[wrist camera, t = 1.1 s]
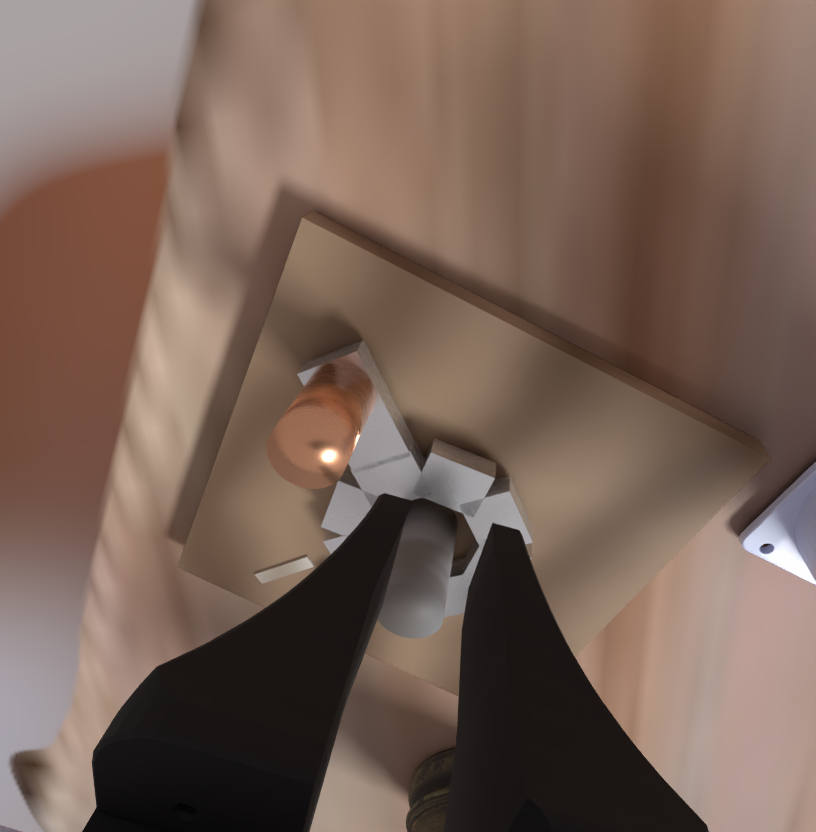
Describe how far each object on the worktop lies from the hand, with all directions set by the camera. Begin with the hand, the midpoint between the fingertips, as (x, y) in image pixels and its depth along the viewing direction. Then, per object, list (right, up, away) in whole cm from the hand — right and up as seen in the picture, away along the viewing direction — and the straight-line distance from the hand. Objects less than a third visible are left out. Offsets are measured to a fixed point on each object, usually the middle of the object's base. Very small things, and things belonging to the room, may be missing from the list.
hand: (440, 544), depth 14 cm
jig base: (0, -1, +13) cm, 13 cm away
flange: (-1, 0, +10) cm, 10 cm away
